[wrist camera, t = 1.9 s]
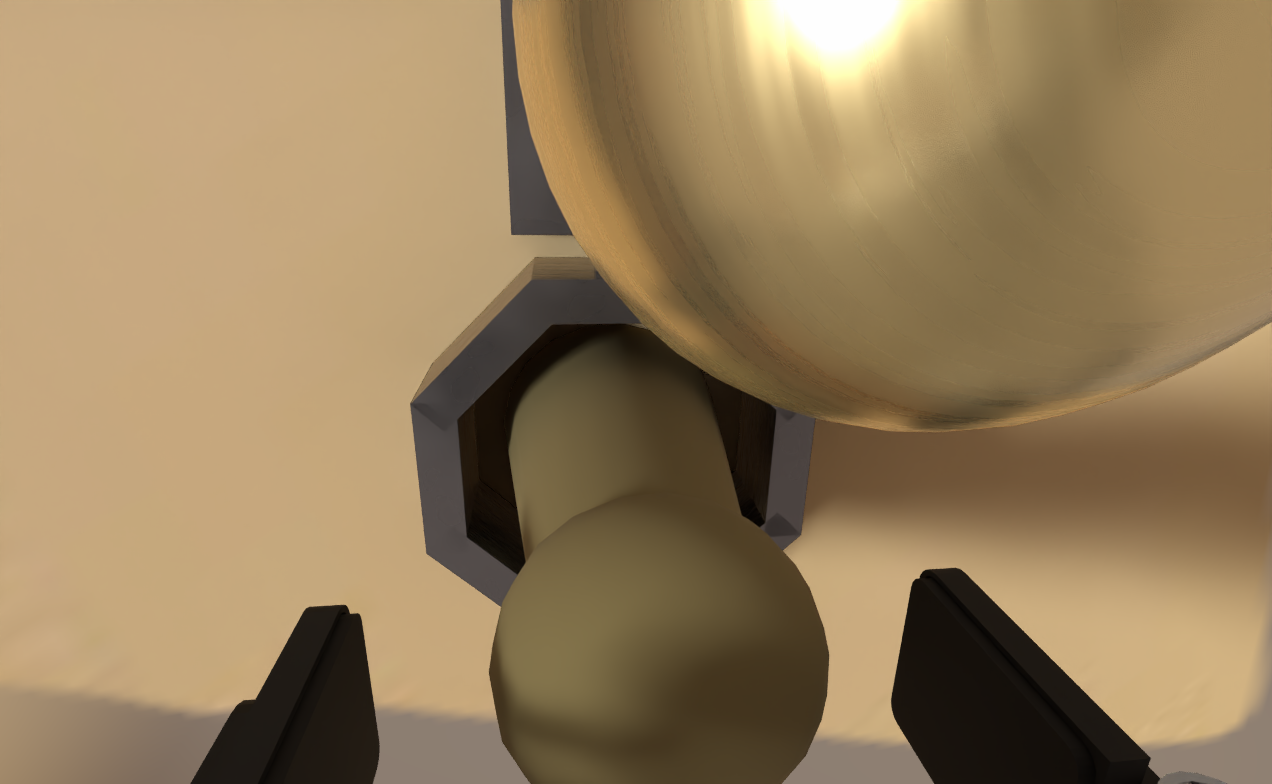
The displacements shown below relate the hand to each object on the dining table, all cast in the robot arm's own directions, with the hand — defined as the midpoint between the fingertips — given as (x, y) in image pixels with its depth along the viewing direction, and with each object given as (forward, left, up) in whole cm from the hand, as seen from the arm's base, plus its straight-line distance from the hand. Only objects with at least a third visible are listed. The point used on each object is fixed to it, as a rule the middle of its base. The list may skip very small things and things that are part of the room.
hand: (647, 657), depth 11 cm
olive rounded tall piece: (-1, 0, -9) cm, 9 cm away
